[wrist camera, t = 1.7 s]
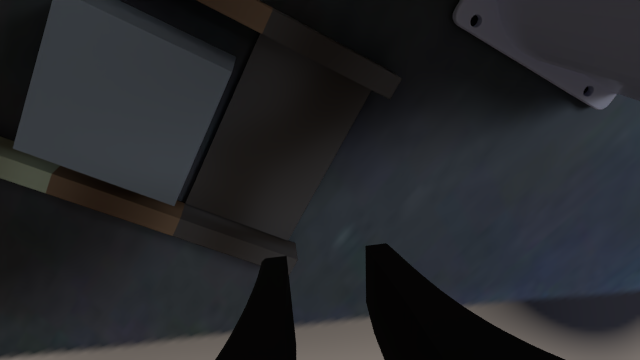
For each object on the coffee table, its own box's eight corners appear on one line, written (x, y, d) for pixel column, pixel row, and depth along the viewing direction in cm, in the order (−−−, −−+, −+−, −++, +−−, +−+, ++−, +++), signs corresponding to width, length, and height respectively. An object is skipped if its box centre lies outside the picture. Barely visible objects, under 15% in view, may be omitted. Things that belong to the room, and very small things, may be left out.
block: (236, 56, 19) (232, 72, 16) (186, 171, 21) (174, 206, 18) (92, -14, 17) (55, -12, 14) (53, 120, 19) (12, 148, 16)
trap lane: (392, 71, 20) (402, 78, 18) (287, 257, 23) (288, 275, 22) (-173, -232, 13) (-222, -255, 12) (-199, 88, 17) (-238, 98, 16)
